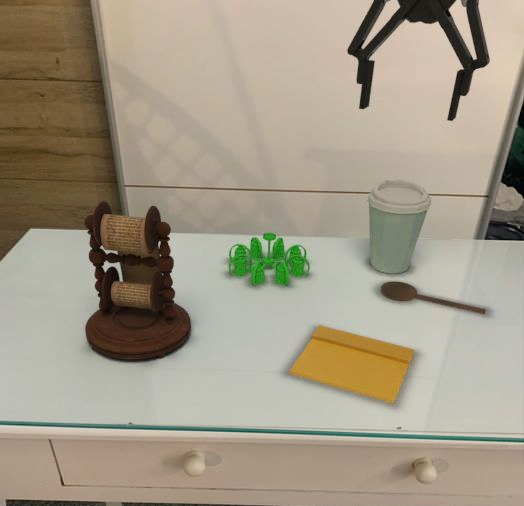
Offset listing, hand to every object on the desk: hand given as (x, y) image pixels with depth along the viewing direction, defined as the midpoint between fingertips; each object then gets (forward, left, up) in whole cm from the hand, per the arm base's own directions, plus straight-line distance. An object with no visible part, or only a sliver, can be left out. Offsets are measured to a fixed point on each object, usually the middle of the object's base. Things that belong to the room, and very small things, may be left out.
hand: (406, 113), depth 85 cm
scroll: (+26, +37, -27) cm, 53 cm away
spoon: (-10, +7, -27) cm, 30 cm away
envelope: (-4, +30, -27) cm, 41 cm away
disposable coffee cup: (-1, -2, -27) cm, 27 cm away
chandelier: (+18, +9, -27) cm, 34 cm away
